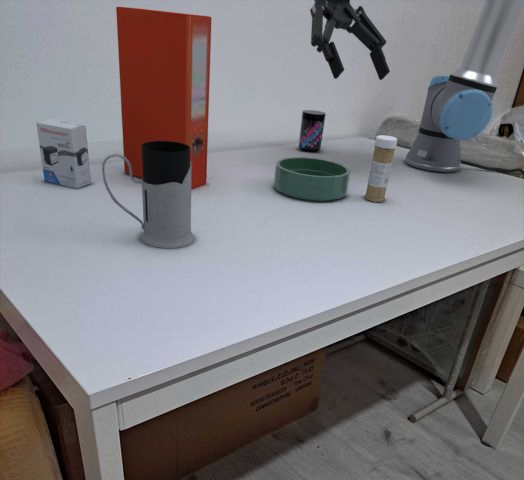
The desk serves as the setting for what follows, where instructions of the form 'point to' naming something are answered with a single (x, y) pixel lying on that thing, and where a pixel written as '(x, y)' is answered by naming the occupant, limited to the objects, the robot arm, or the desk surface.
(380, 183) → the sprinkles bottle
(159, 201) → the glass holder
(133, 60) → the file binder
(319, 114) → the supplement container
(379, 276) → the desk surface
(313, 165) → the bowl
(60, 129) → the ink box
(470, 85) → the robot arm
